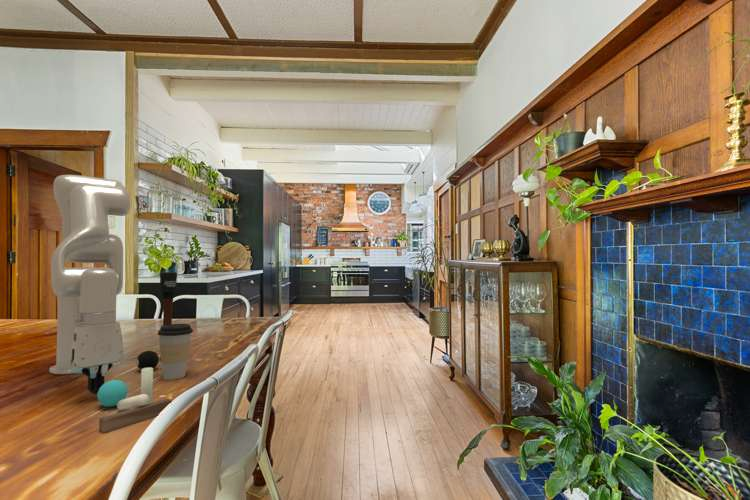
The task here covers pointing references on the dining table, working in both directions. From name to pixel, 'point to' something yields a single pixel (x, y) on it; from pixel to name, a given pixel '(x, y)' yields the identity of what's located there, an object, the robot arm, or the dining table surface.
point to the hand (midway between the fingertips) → (95, 392)
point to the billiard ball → (147, 360)
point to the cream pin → (133, 402)
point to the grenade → (168, 294)
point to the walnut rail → (132, 415)
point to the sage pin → (147, 382)
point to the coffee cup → (174, 349)
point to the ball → (112, 393)
